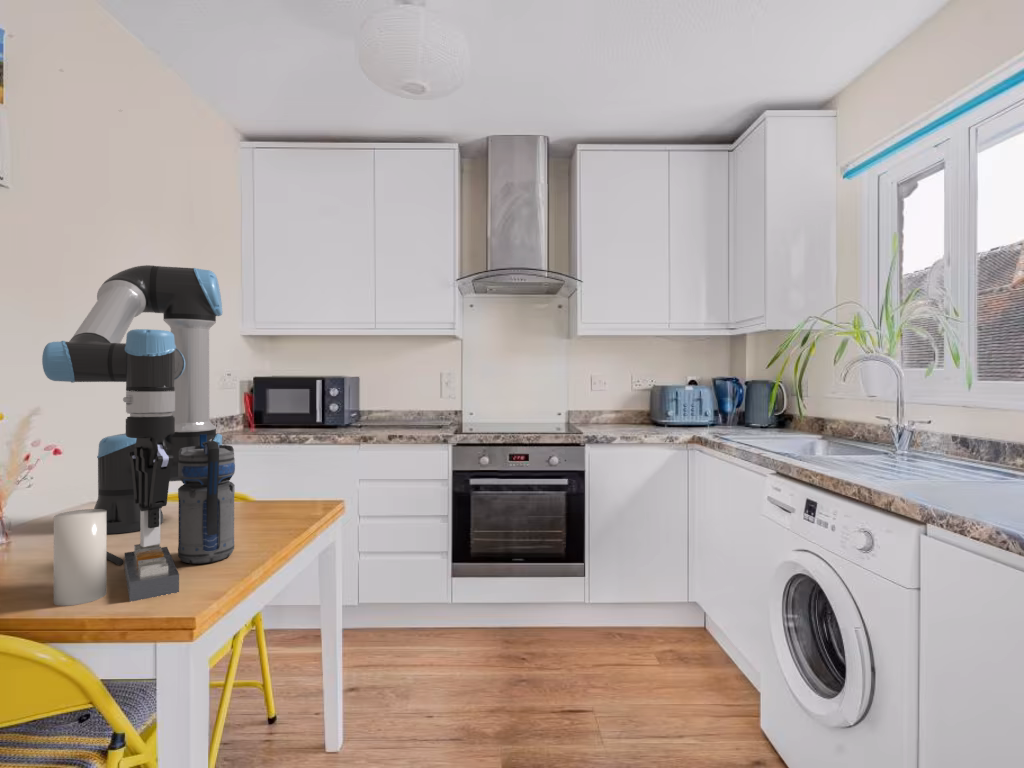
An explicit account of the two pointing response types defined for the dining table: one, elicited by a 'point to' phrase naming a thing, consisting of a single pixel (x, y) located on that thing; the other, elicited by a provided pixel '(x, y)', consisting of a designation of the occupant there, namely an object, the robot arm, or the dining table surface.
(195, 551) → the beverage bottle
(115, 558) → the dark gray rod
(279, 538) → the dining table surface
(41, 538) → the dining table surface
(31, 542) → the dining table surface
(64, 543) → the white glossy cylinder
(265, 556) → the dining table surface
